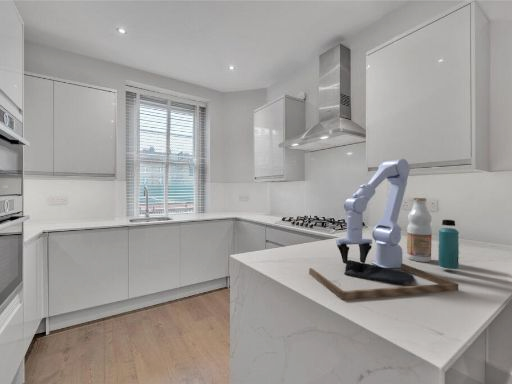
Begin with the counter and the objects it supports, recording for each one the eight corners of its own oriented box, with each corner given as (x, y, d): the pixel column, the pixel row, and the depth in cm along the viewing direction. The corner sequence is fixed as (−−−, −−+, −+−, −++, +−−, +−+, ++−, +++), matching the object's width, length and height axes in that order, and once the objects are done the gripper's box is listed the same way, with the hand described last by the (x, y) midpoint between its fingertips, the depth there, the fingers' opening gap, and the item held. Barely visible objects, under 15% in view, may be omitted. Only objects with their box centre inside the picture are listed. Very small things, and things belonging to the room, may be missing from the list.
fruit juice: (401, 257, 120) (402, 197, 119) (417, 256, 122) (418, 197, 122) (419, 263, 110) (420, 198, 110) (436, 261, 113) (437, 198, 113)
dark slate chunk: (408, 291, 80) (408, 275, 80) (339, 275, 94) (340, 262, 94) (416, 278, 92) (417, 265, 91) (354, 266, 106) (355, 254, 106)
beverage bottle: (459, 274, 96) (461, 221, 96) (438, 271, 99) (439, 219, 99) (457, 270, 101) (458, 219, 101) (436, 267, 105) (438, 218, 105)
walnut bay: (403, 268, 102) (403, 263, 102) (458, 290, 80) (458, 284, 80) (309, 273, 94) (309, 268, 94) (341, 299, 72) (342, 292, 72)
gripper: (364, 226, 106) (364, 259, 106) (332, 227, 103) (331, 260, 103) (375, 229, 99) (375, 264, 99) (341, 229, 96) (341, 265, 96)
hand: (353, 262), depth 100 cm, fingers open, 7 cm apart
